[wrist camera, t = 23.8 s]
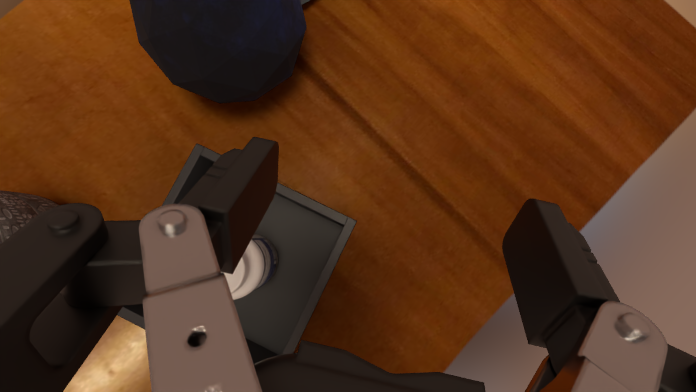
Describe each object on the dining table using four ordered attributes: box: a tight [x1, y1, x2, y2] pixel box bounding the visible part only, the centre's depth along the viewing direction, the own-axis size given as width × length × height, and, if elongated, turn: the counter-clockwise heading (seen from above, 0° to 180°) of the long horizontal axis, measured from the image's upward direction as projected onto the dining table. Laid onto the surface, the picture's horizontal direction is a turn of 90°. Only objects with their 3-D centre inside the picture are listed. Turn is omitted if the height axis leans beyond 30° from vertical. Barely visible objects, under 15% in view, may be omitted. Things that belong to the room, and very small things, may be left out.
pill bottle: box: [221, 234, 278, 300], centre depth 30 cm, size 5×5×10 cm
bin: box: [117, 144, 357, 364], centre depth 32 cm, size 16×16×7 cm
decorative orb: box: [130, 0, 306, 103], centre depth 31 cm, size 14×15×15 cm
